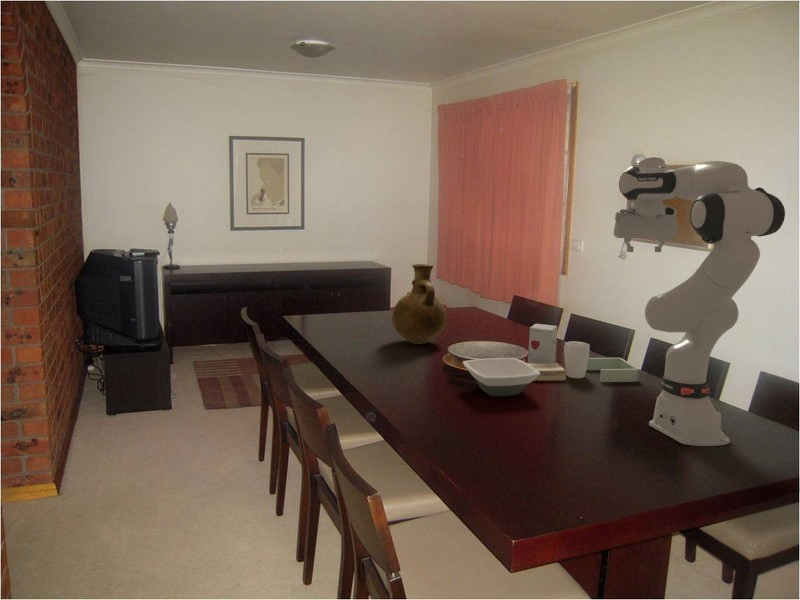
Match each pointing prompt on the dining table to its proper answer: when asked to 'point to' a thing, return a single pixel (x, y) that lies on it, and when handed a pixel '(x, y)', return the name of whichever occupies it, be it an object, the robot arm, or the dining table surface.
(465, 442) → the dining table surface
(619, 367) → the tray
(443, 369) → the dining table surface
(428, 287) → the vase
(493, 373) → the bowl
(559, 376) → the board
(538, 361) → the supplement box
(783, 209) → the robot arm
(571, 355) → the cup
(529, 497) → the dining table surface
